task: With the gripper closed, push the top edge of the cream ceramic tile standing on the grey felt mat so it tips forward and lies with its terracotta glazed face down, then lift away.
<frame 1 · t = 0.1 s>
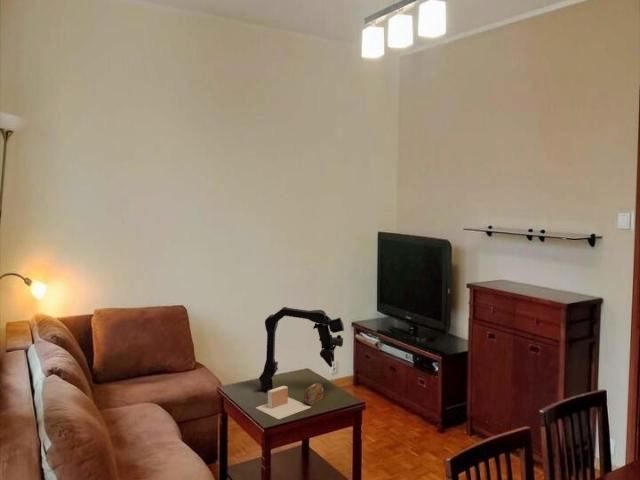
hand: (332, 364, 272), 15 cm above the table, fingers open, 9 cm apart
felt mat: (283, 408, 255), on the table
tin: (314, 402, 263), on the table
tile: (278, 405, 258), resting on felt mat
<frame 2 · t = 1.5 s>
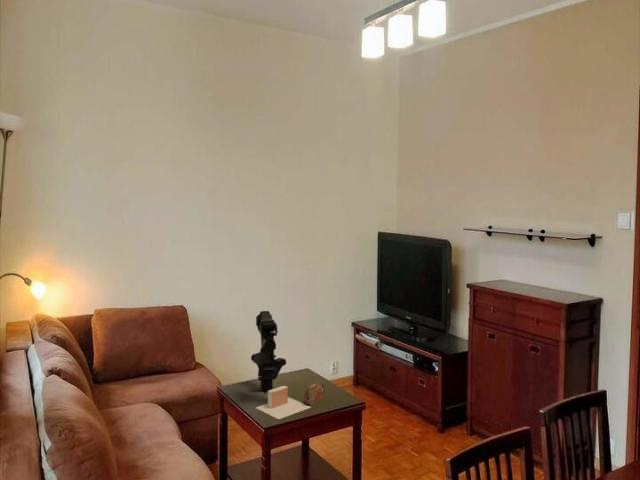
hand: (268, 376, 263), 12 cm above the table, fingers open, 9 cm apart
nothing on the table moved.
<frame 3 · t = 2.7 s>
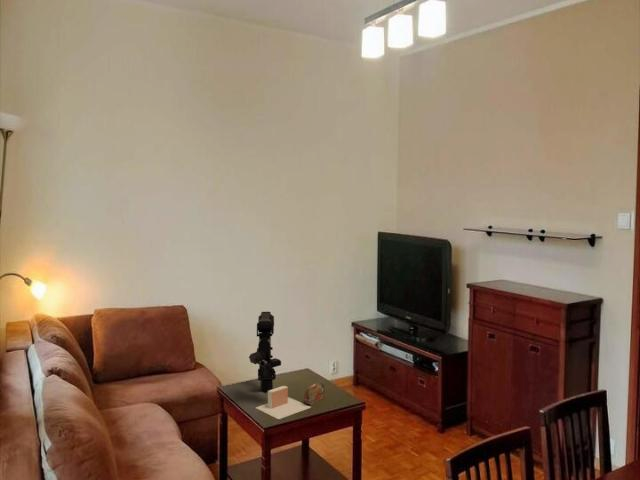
hand: (265, 376, 264), 12 cm above the table, fingers closed
nothing on the table moved.
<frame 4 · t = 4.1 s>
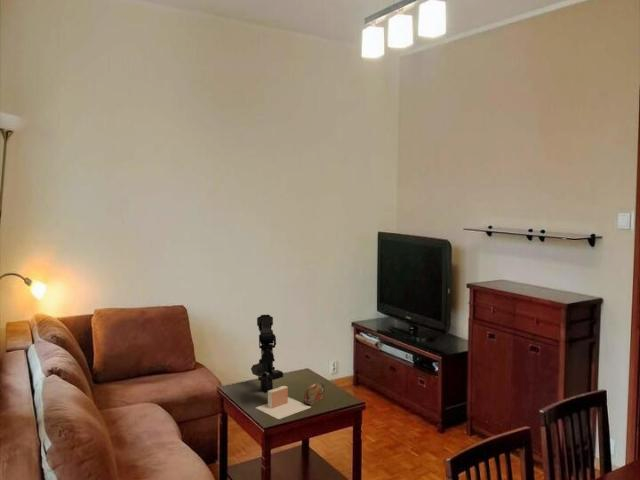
hand: (267, 388, 263), 7 cm above the table, fingers closed
nothing on the table moved.
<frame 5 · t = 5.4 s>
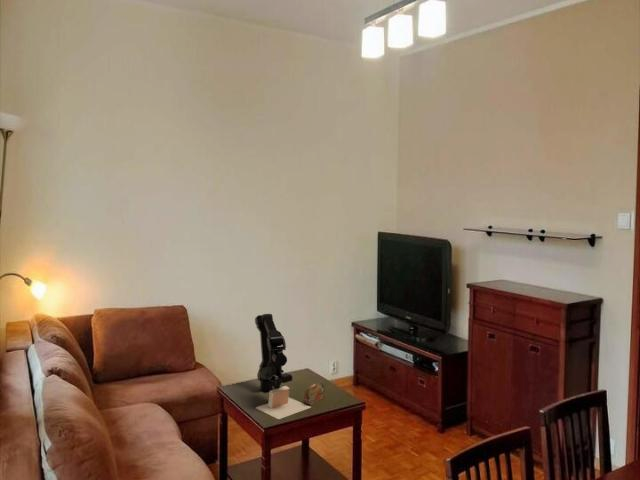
hand: (276, 391, 258), 7 cm above the table, fingers closed
tile: (278, 404, 258), point 1 cm above the table, tilted 11°, touching felt mat
everything else where it was.
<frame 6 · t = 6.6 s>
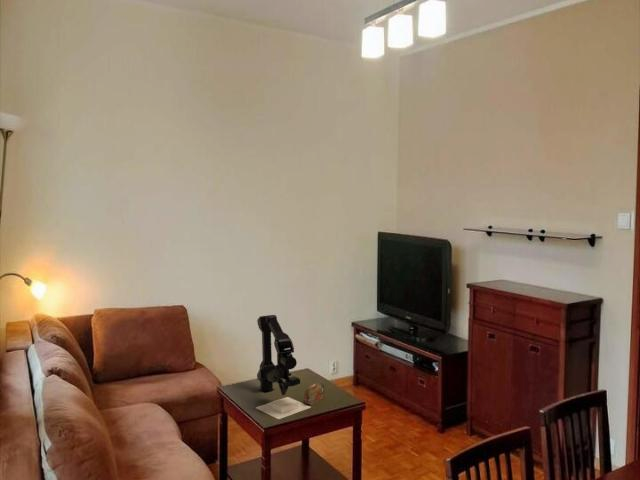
hand: (283, 395, 254), 7 cm above the table, fingers closed
tile: (279, 402, 257), point 2 cm above the table, tilted 90°, touching felt mat
everything else where it was.
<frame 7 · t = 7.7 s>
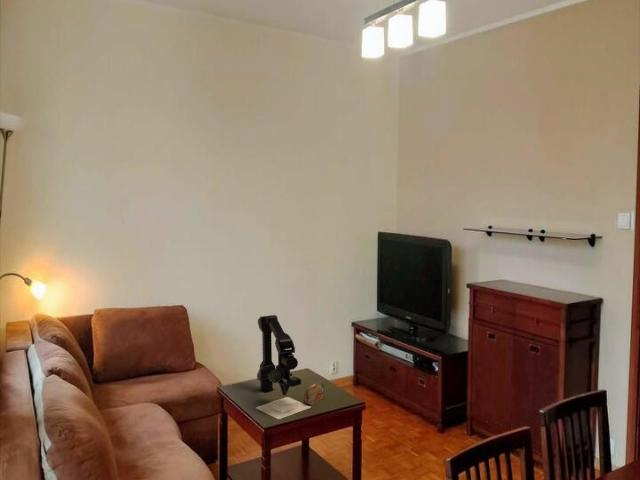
hand: (284, 395, 253), 7 cm above the table, fingers closed
nothing on the table moved.
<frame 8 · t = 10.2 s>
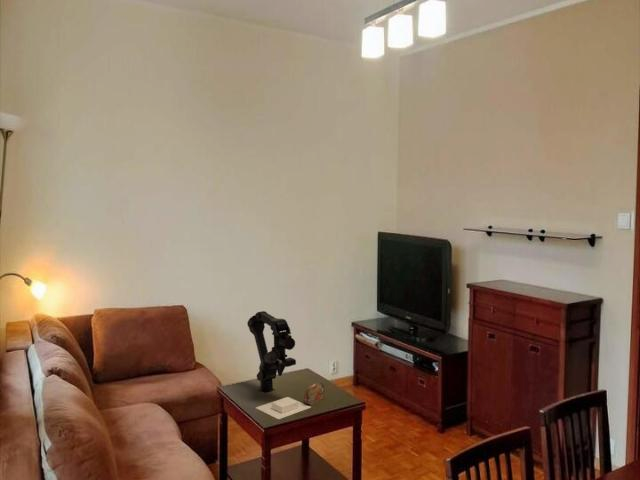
hand: (279, 375, 265), 12 cm above the table, fingers closed
nothing on the table moved.
at the end: tile tilted 90°; tile touching felt mat; tile inside the target area (3.6 cm from its centre), point 1.9 cm above the table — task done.
